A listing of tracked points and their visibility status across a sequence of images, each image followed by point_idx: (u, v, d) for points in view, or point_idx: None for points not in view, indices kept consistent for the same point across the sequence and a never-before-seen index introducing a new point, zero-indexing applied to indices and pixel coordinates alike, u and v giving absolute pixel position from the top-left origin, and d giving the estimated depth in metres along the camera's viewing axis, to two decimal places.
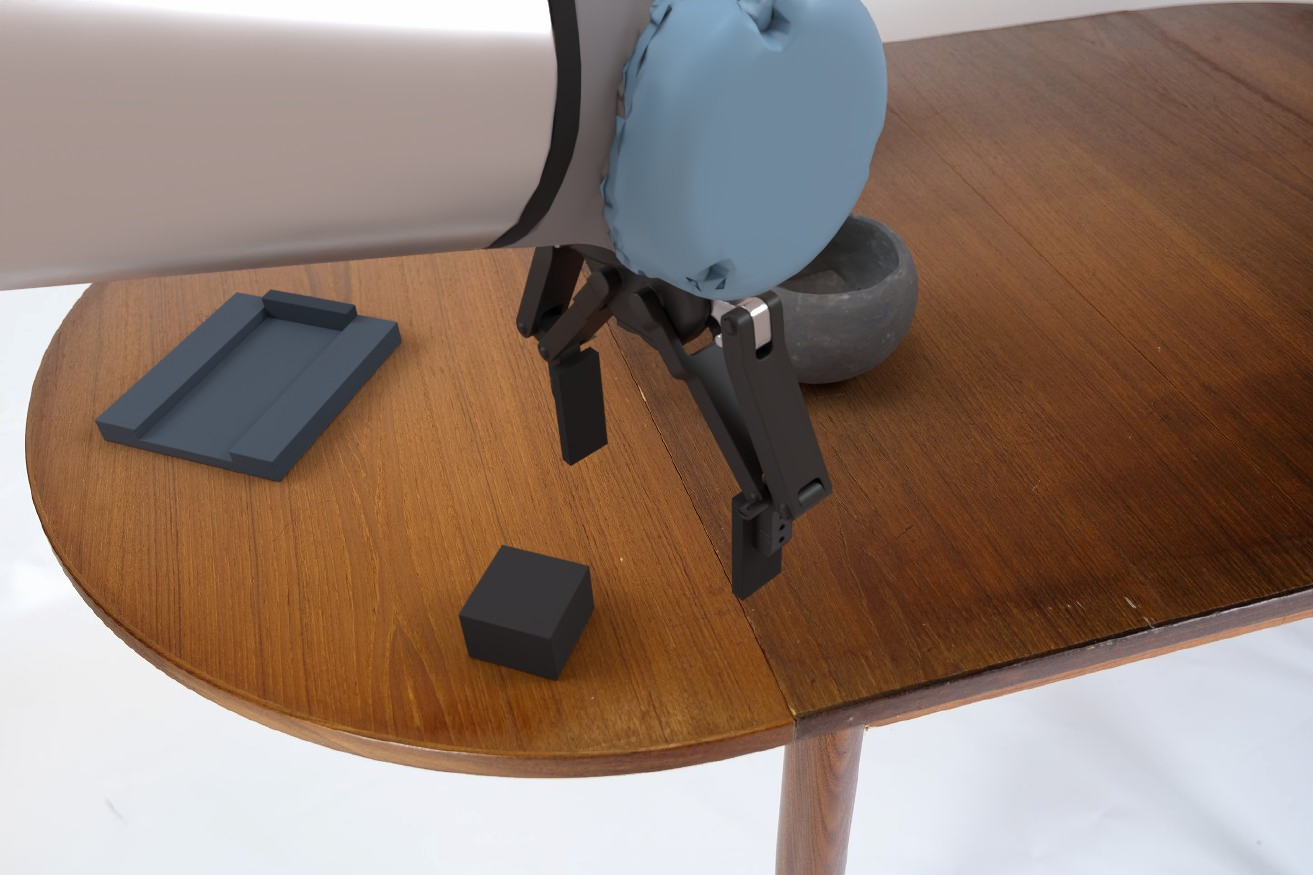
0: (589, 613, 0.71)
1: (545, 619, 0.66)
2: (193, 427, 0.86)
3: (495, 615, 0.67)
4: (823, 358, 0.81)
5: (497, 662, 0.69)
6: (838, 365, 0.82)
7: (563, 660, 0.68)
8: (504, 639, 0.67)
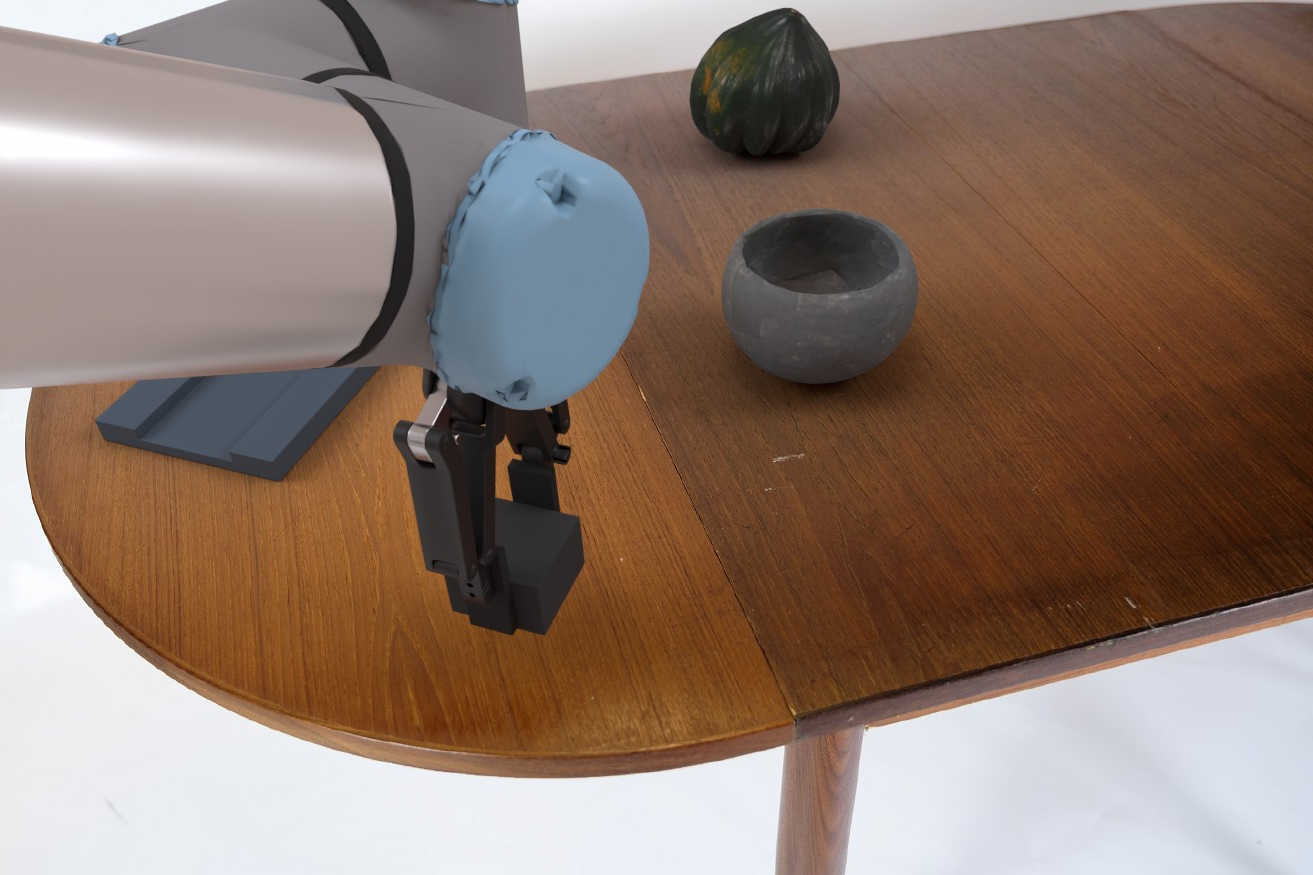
0: (579, 568, 0.68)
1: (533, 569, 0.63)
2: (193, 427, 0.86)
3: None
4: (823, 358, 0.81)
5: None
6: (838, 365, 0.82)
7: (551, 614, 0.65)
8: None
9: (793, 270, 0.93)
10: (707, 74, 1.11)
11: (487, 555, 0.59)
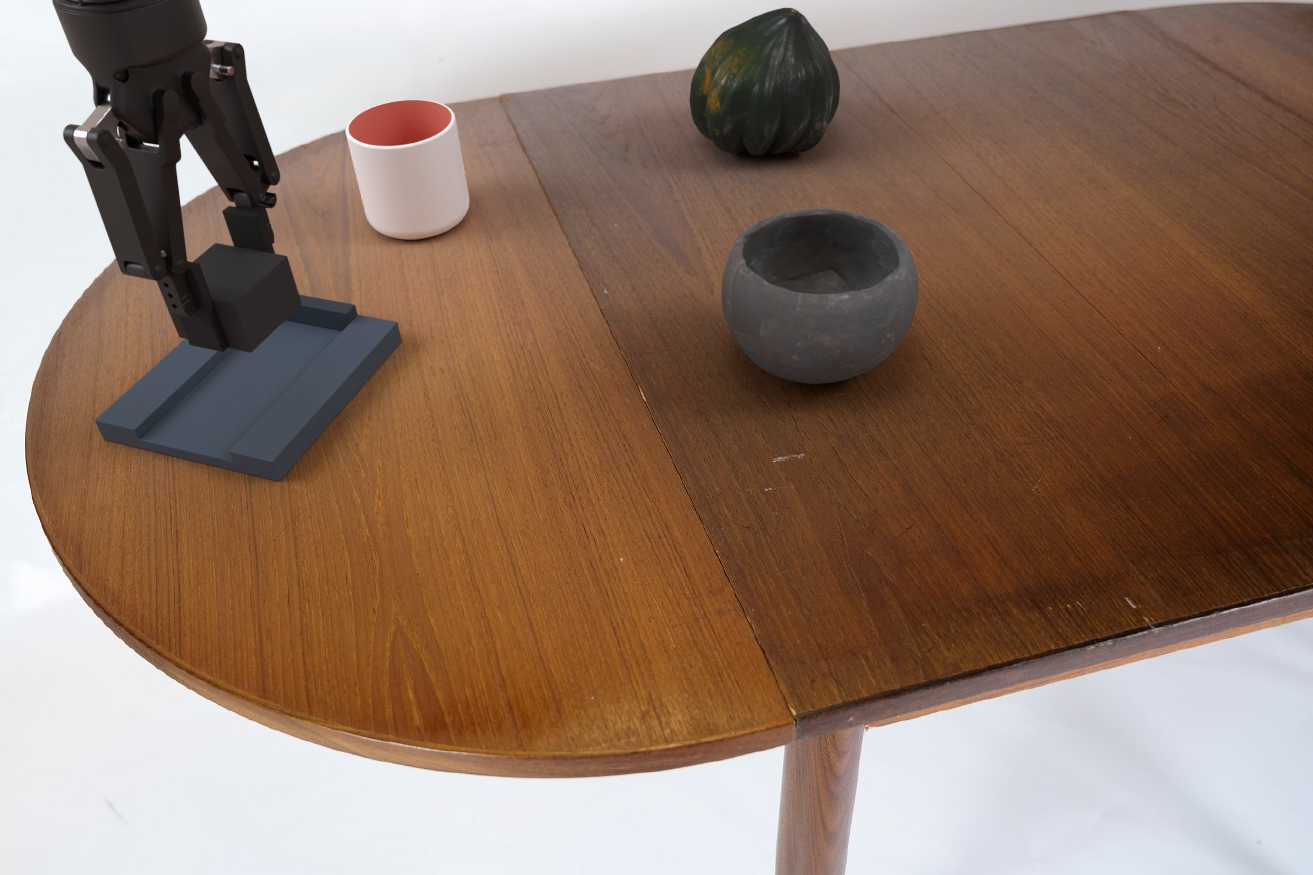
0: (294, 305, 0.79)
1: (235, 291, 0.74)
2: (193, 427, 0.86)
3: None
4: (823, 358, 0.81)
5: None
6: (838, 365, 0.82)
7: (258, 336, 0.76)
8: None
9: (793, 270, 0.93)
10: (707, 74, 1.11)
11: (177, 264, 0.70)
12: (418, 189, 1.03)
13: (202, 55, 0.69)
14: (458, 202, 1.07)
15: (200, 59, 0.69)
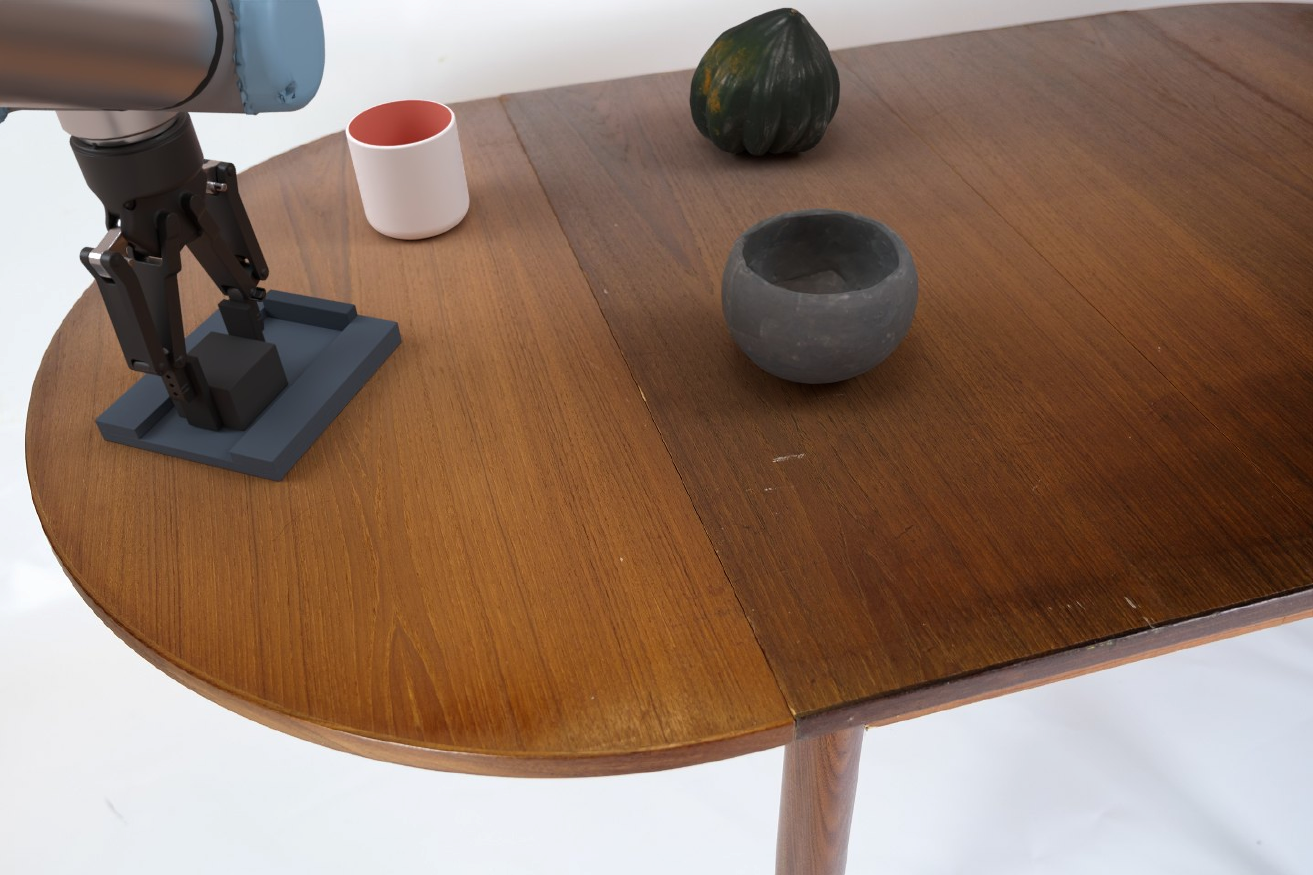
0: (281, 386, 0.89)
1: (229, 378, 0.84)
2: (193, 427, 0.86)
3: None
4: (823, 358, 0.81)
5: None
6: (838, 365, 0.82)
7: (250, 416, 0.86)
8: None
9: (793, 270, 0.93)
10: (707, 74, 1.11)
11: (178, 359, 0.80)
12: (418, 189, 1.03)
13: (199, 177, 0.78)
14: (458, 202, 1.07)
15: (198, 181, 0.78)
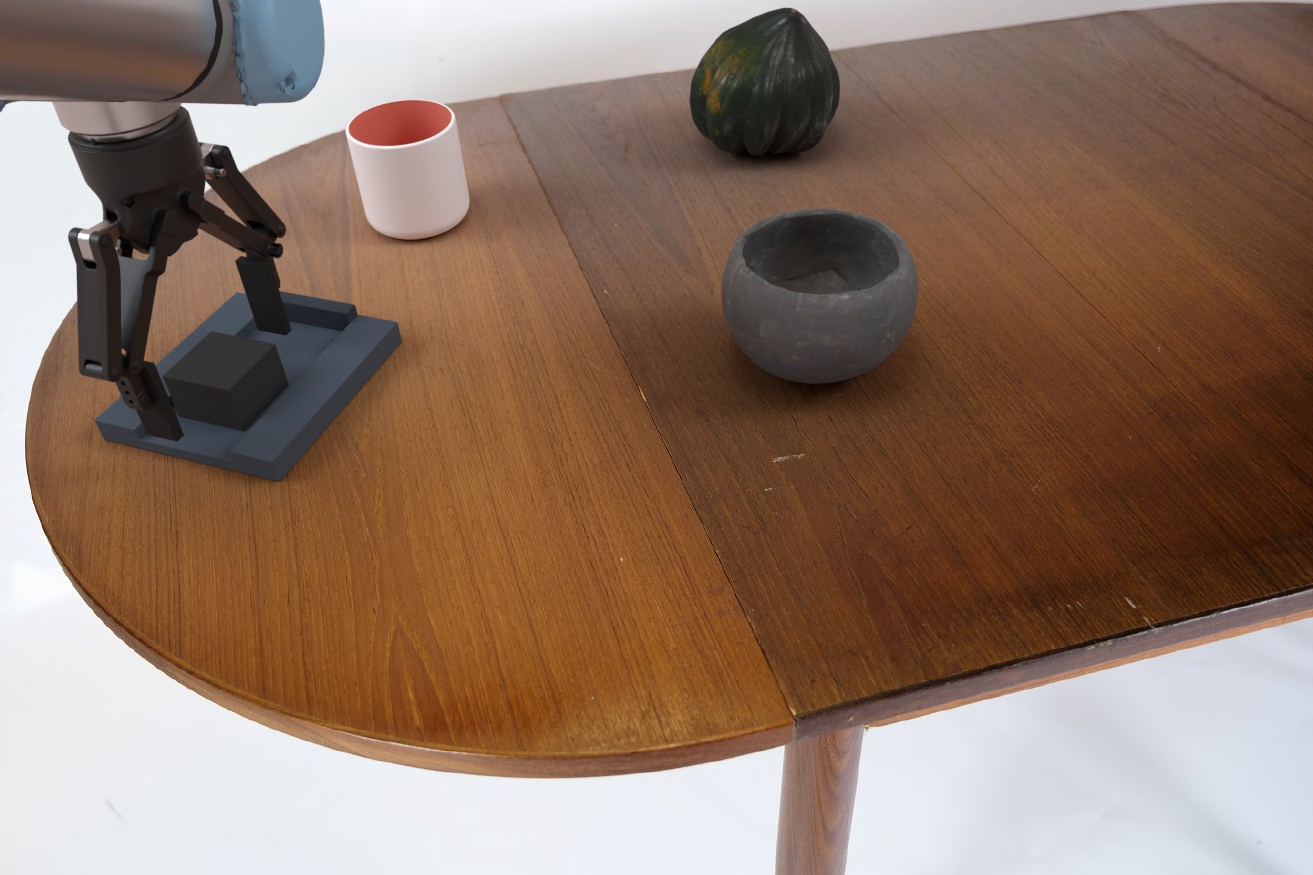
0: (281, 386, 0.89)
1: (229, 378, 0.84)
2: (193, 427, 0.86)
3: (190, 376, 0.84)
4: (823, 358, 0.81)
5: (199, 419, 0.86)
6: (838, 365, 0.82)
7: (250, 416, 0.86)
8: (198, 395, 0.84)
9: (793, 270, 0.93)
10: (707, 74, 1.11)
11: (133, 363, 0.76)
12: (418, 189, 1.03)
13: (198, 176, 0.78)
14: (458, 202, 1.07)
15: (196, 180, 0.78)
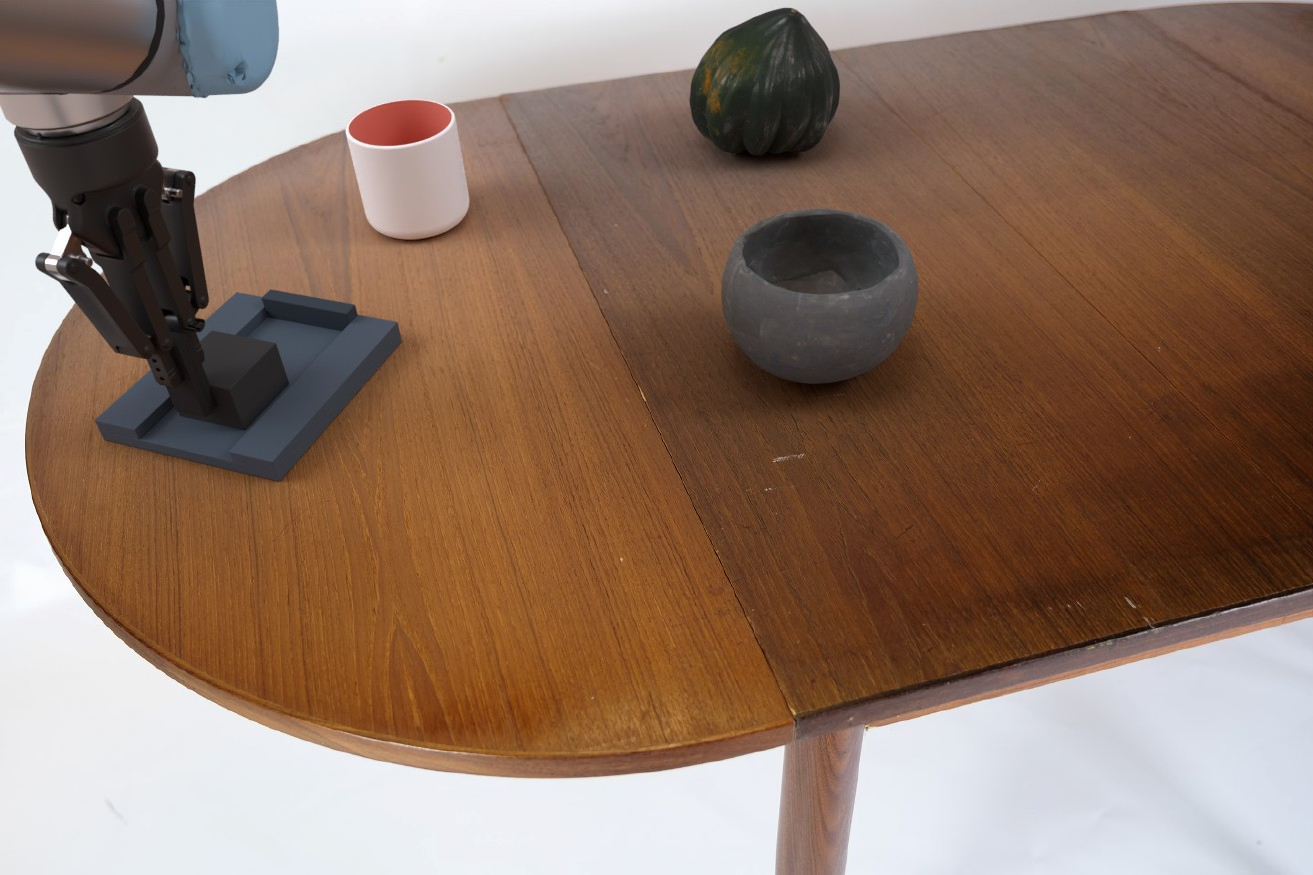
0: (282, 385, 0.89)
1: (230, 377, 0.84)
2: (193, 427, 0.86)
3: None
4: (823, 358, 0.81)
5: (200, 418, 0.86)
6: (838, 365, 0.82)
7: (250, 415, 0.86)
8: None
9: (793, 270, 0.93)
10: (707, 74, 1.11)
11: (164, 344, 0.78)
12: (418, 189, 1.03)
13: (155, 171, 0.74)
14: (458, 202, 1.07)
15: (153, 176, 0.74)
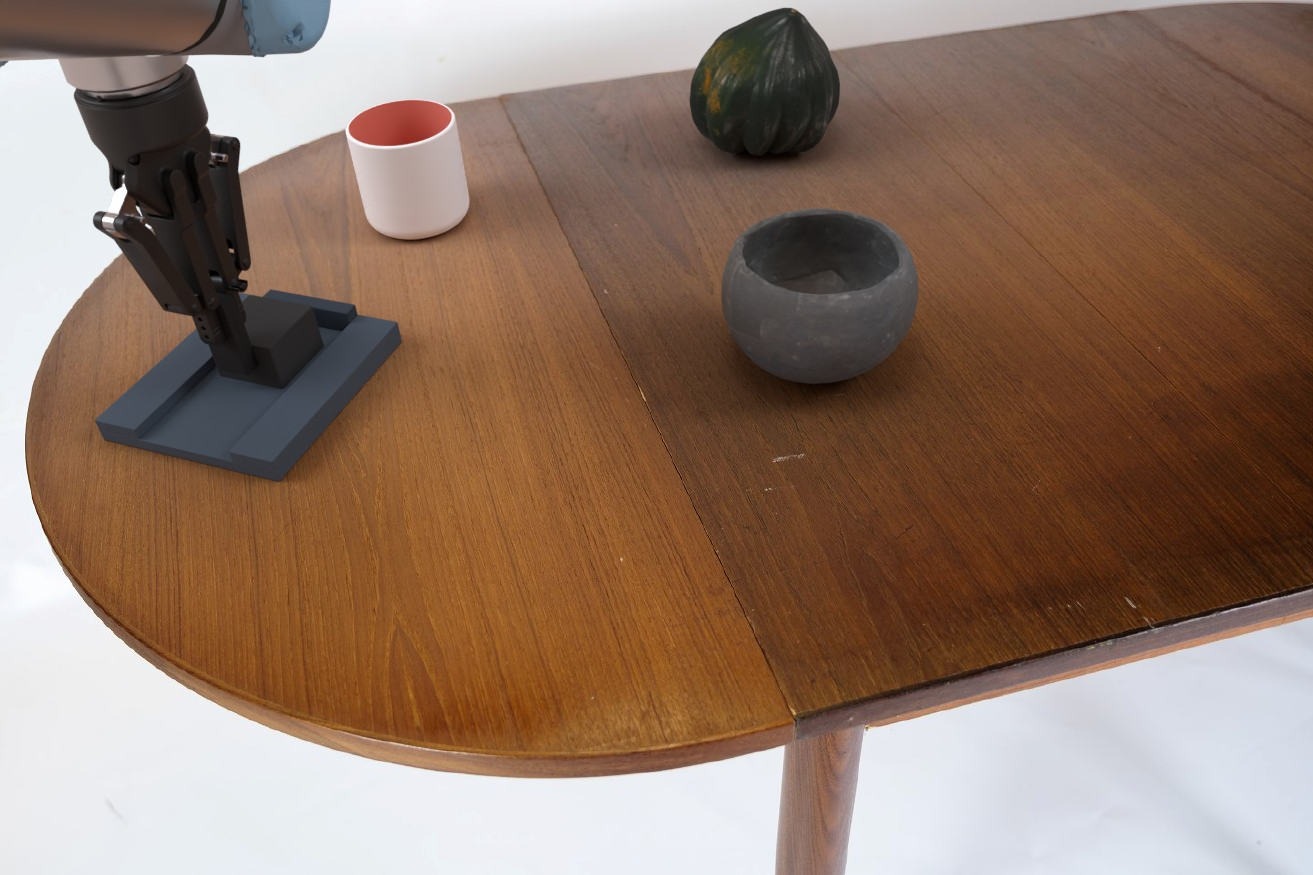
0: (317, 347, 0.92)
1: (269, 337, 0.87)
2: (193, 427, 0.86)
3: None
4: (823, 358, 0.81)
5: (240, 378, 0.90)
6: (838, 365, 0.82)
7: (288, 374, 0.89)
8: None
9: (793, 270, 0.93)
10: (707, 74, 1.11)
11: (210, 302, 0.82)
12: (418, 189, 1.03)
13: (203, 136, 0.78)
14: (458, 202, 1.07)
15: (202, 140, 0.78)
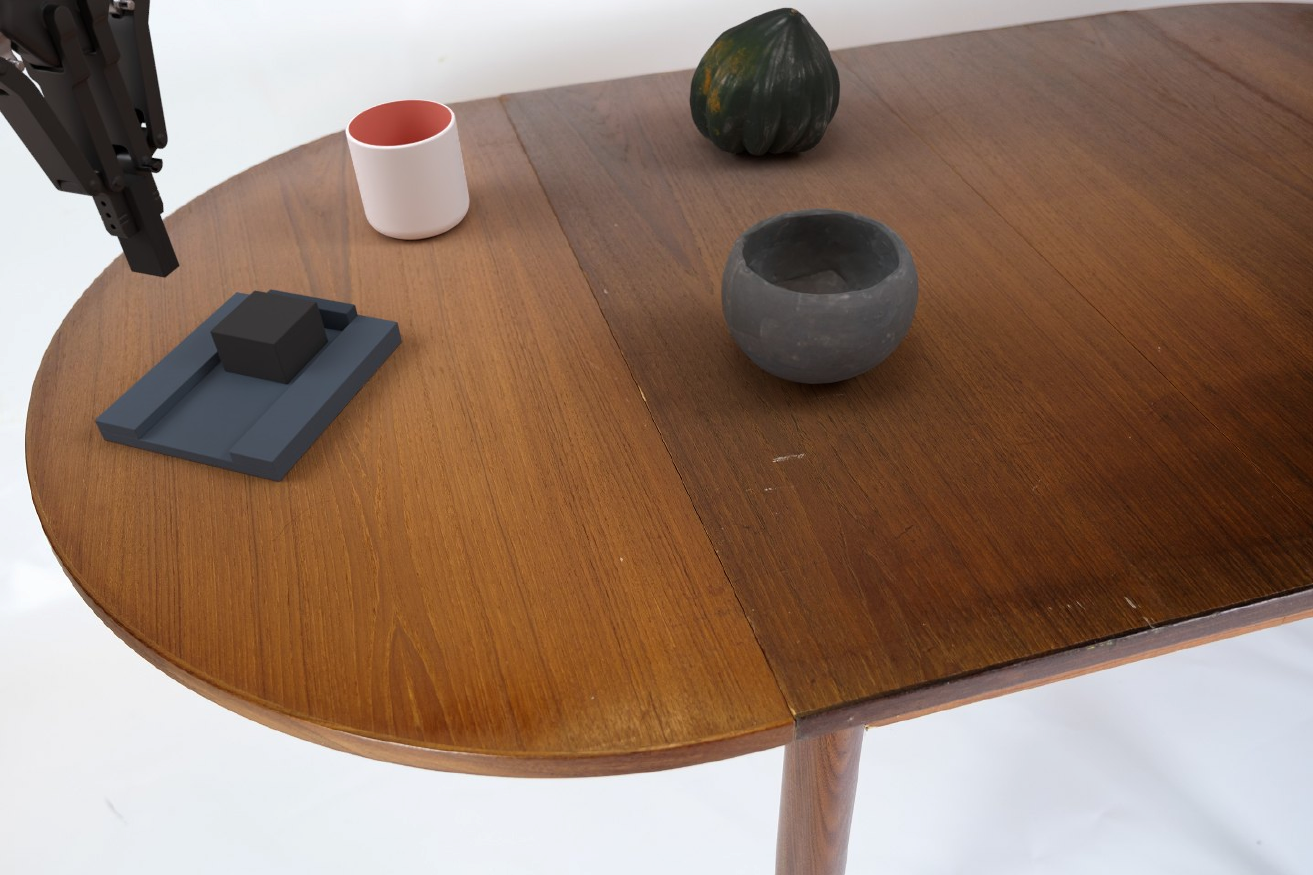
0: (321, 343, 0.93)
1: (274, 332, 0.88)
2: (193, 427, 0.86)
3: (237, 331, 0.88)
4: (823, 358, 0.81)
5: (244, 373, 0.90)
6: (838, 365, 0.82)
7: (293, 370, 0.90)
8: (244, 350, 0.88)
9: (793, 270, 0.93)
10: (707, 74, 1.11)
11: (114, 182, 0.68)
12: (418, 189, 1.03)
13: None
14: (458, 202, 1.07)
15: None
